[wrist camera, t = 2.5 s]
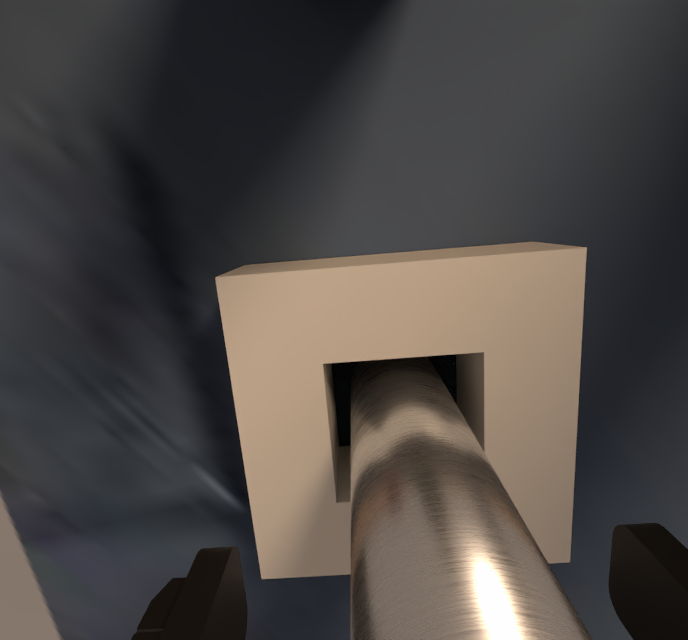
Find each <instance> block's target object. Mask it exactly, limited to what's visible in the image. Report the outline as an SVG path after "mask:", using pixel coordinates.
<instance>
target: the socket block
mask: <svg viewBox="0 0 688 640" xmlns="http://www.w3.org/2000/svg"><path fill="white" fill-rule="evenodd" d="M586 253H587V247H577V246H568V245H559V244H550V243H541V242H522V243H510V244H498V245H485V246H473V247H461V248H448V249H436V250H424V251H411V252H399V253H387V254H374V255H362V256H350V257H337V258H325V259H313V260H300V261H288V262H275V263H263V264H251V265H244V266H242V267H239V268H237V269H234V270H232V271H229V272H227V273H224V274H222V275H220V276H217V277H215V280H216V287H217V293H218V300H219V306H220V313H221V319H222V326H223V332H224V339H225V345H226V352H227V358H228V365H229V371H230V378H231V384H232V391H233V397H234V404H235V410H236V417H237V423H238V430H239V436H240V443H241V449H242V455H243V462H244V468H245V475H246V481H247V488H248V494H249V501H250V507H251V514H252V520H253V527H254V533H255V540H256V546H257V553H258V559H259V566H260V572H261V579H275V578H293V577H312V576H330V575H348V574H351V446H339V437H338V426H337V416H336V405H335V394H334V384H333V373H332V363H341V362H355V361H369V360H383V359H397V358H410V357H424V356H438V355H452V354H456V392H457V406H458V408H459V410H460V412H461V413H462V415H463V417H464V418H465V420H466V422H467V424H468V425H469V427H470V429H471V431H472V432H473V434H474V436H475V437H476V439H477V441H478V443H479V444H480V446H481V448H482V450H483V451H484V453H485V455H486V456H487V458H488V460H489V462H490V463H491V465H492V467H493V469H494V470H495V472H496V474H497V476H498V477H499V479H500V481H501V482H502V484H503V486H504V488H505V489H506V491H507V493H508V495H509V496H510V498H511V500H512V501H513V503H514V505H515V507H516V508H517V510H518V512H519V514H520V515H521V517H522V519H523V520H524V522H525V524H526V526H527V527H528V529H529V531H530V533H531V534H532V536H533V538H534V540H535V541H536V543H537V545H538V546H539V548H540V550H541V552H542V553H543V555H544V557H545V559H546V560H547V562H548V564H550V563H568V562H570V554H571V535H572V516H573V497H574V479H575V460H576V441H577V422H578V403H579V384H580V366H581V347H582V328H583V309H584V290H585V271H586Z"/></svg>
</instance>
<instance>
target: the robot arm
mask: <svg viewBox="0 0 688 640" xmlns="http://www.w3.org/2000/svg"><path fill="white" fill-rule="evenodd" d="M609 593H610V597H611V601H612V604H613V607H614V609H615V611H616V614H617V615H618V617H619V619H620V621H621V622H622V624H623V625H624V627H625V628H626V629H627V631H628V632H629V634H630V635H631V637H632V638H633V640H688V549H687V548H686V547H685V546H683V545H682V544H681V543H680V542H679V541H678V540H677V539H676V538H675V537H674V536H673V535H672V534H671V533H670V532H669V531H668V530H667V529H665V528H664V527H663V526H661V525H660V524H657V523H645V524H629V525H618V526H616V527H615V529H614V531H613V539H612V550H611V562H610V574H609ZM246 628H247V601H246V594H245V588H244V581H243V574H242V568H241V561H240V555H239V551H238V548H237V547H221V548H204V549H201V550H200V551H199V552H198V553H197V555H196V558H195V560H194V562H193V564H192V566H191V569H190V571H189V573H188V575H187V577H186V578H172V579H171V581H170V582H169V583H168V584H167V585H166V586H165V587H164V588H163V589H162V590H161V591H160V592H159V593H158V594H157V595H156V597H155V598H154V599H153V600H152V601H151V602H150V604H149V606H148V608H147V610H146V612H145V614H144V616H143V618H142V620H141V622H140V624H139V626H138V628H137V633H136V634H134V635H133V637H132V639H131V640H245V635H246Z"/></svg>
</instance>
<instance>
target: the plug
mask: <svg viewBox="0 0 688 640" xmlns="http://www.w3.org/2000/svg"><path fill="white" fill-rule="evenodd" d="M351 640H592V638H591V636H590V635H589V633H588V631H587V629H586V628H585V626H584V624H583V623H582V621H581V619H580V617H579V616H578V614H577V612H576V610H575V609H574V607H573V605H572V603H571V602H570V600H569V598H568V597H567V595H566V593H565V591H564V590H563V588H562V586H561V584H560V583H559V581H558V579H557V578H556V576H555V574H554V572H553V571H552V569H551V567H550V565H549V564H548V562H547V560H546V559H545V557H544V555H543V553H542V552H541V550H540V548H539V546H538V545H537V543H536V541H535V540H534V538H533V536H532V534H531V533H530V531H529V529H528V527H527V526H526V524H525V522H524V520H523V519H522V517H521V515H520V514H519V512H518V510H517V508H516V507H515V505H514V503H513V501H512V500H511V498H510V496H509V495H508V493H507V491H506V489H505V488H504V486H503V484H502V482H501V481H500V479H499V477H498V476H497V474H496V472H495V470H494V469H493V467H492V465H491V463H490V462H489V460H488V458H487V456H486V455H485V453H484V451H483V450H482V448H481V446H480V444H479V443H478V441H477V439H476V437H475V436H474V434H473V432H472V431H471V429H470V427H469V425H468V424H467V422H466V420H465V418H464V417H463V415H462V413H461V412H460V410H459V408H458V406H457V405H456V403H455V401H454V399H453V398H452V396H451V394H450V393H449V391H448V389H447V387H446V386H445V384H444V382H443V380H442V379H441V377H440V375H439V373H438V372H437V370H436V368H435V367H434V365H433V363H432V362H431V361H430V359H429V358H428V357H427V356H424V357H410V358H397V359H383V360H369V361H360V362H359V364H358V365H357V367H356V368H355V370H354V373H353V375H352V379H351Z"/></svg>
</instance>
